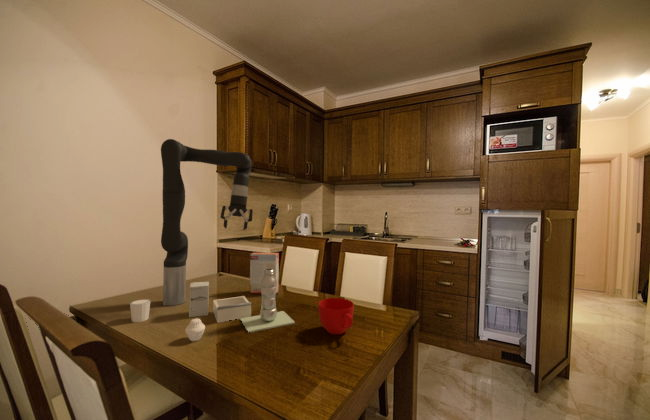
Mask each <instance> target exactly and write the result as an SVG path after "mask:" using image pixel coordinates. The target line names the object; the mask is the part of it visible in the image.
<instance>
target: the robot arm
mask: <svg viewBox="0 0 650 420" xmlns="http://www.w3.org/2000/svg"><path fill="white" fill-rule="evenodd" d="M160 155H161V164H162V231H161V239H160V244H161V248H162V249H163V250H164V251H165V252H166V257H165V259H164V260H163V277H162V279H163V281H162V282H163V284H162V306H163V307H164V306H178V305H180V304H181V305H182V304H184V303H185V302H186V299H187V298H186V292H187V291H186V288H187V287H186V286H187V285H186V283H187V282H186V281H187V275H186V274H187V271H186V270H187V259H188V253H189V238H188V235H187V234H186V233H185V232H183V231H181V230H182V229H181V220H182V216H183V213H184V210H185V205H186V187H185V184H184V181H183V177H182V174H181V173H182V172H181V162H191V163H193V162H194V163H195V162H196V163H203V164H209V165H213V166H222V167H230V166H231V167H236V172H235V173H234V177H233V181H232V182H233V183H232V189H231V192H230V201H229V206H226V205H223V206H222V207H221V213H220V216H219V217H220V218H221V219H222V220H223V227H224V229H227V226H228V219H230V218H231V216H232V217H238V218H239V217H240V218H242V219H243V221H244V223H243V227H242V228H243V229H242V230H243V231H246V230H247V228H248V223H250V222H252V221H253V211H254V210H253V208H247V202H248V196H249V195H248V193H249V183H250V174H251V171H252V166H253V163H252V162H253V161H252V159H251V158H250V155H248V154H247V153H246V152H245V153H244V152H239V151H226V150H219V149H202V148H201V149H200V148H193V147H190V146H187V145H184V144H182V143H181V142H180V141H177V140H175V139H173V138H168V139H166V140H164V141H163V142H162V144H161V146H160ZM227 210H228V211H229V213H227V215H226V216H225V212H226V211H227ZM246 212H247V214H248V218H247V216H246V215H245V214H246Z"/></svg>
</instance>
